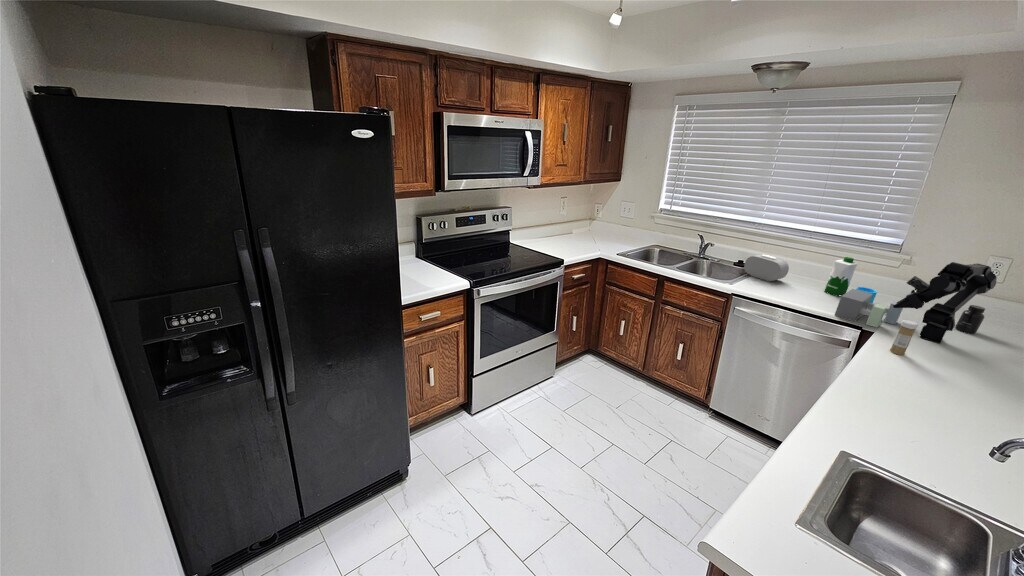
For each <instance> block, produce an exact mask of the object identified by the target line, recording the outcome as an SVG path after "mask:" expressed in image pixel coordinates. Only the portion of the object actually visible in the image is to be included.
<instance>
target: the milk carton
mask: <svg viewBox="0 0 1024 576" xmlns="http://www.w3.org/2000/svg"><path fill="white" fill-rule="evenodd" d="M857 266H858V263H856V262H854V258H853V257H849V256H845V257H844V258H843V259H836V260H833V265H832V268H831V271H830V274H829V278H828V280H827V283H826V286H825V288H824V291H823V292H824V293H826V292H828V293H827V294H829V293H831V294H830V295H832V294H834V295H833V296H835V295H837V296H836V297H840V296H839V295H844V294H845V293H847V292H848V289H849V286H850V284H851V280H852V278H853V275H854V273H855V270H856V269H857Z"/></svg>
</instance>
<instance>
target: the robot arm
mask: <svg viewBox="0 0 1024 576" xmlns="http://www.w3.org/2000/svg"><path fill="white" fill-rule="evenodd" d="M997 278H998V277H997V276H996V274H994V272H993V271H992V267H991V266H990V265H986V264H982V263H973V264H964V263H958V262H955V261H952V262H950V263H948V264H946V265H945V266H944V267H943V268H942V269H941V270H940V271H939V272H938V273H937V276H934V277H933V278H932V279H930V281H929V284H928V283H927V282H926V281H924V280H923V279H921V278H919V277H918V276H916V275H915V276H913V277H911V278H910V279H909V280H907V281H906V284H907V285H909V286H911V287H913V288H914V289H912V290H911V291H910V293H909V294H907V295H906V296H905V297H903V298H902V299H900V300H899V301H896V302H897V304H895V305H893V307H894V308H903V309H915V310H918V309H921V308H924V307H923V306H924V305H925V304H928V303H929V302H931V301H935V300H939V299H943V297H946V296H950V295H952V296H951V297H950V298H948V300H947V301H946V302H944V303H943V304H942V303H939V302H937V303H935V304H934V305H933V306H931V307H930V308H929V309H927V310H926V311H925V312H924V314H923V318H922V323H924V325H923V326H922V329H921V331H920V333H919V335H920V336H919V338H921V339H924V340H927V341H930V342H934V343H937V344H941V343H942V341H943V339H944V337H945V334H946V332H947V331H948V332H949V331H950V332H952V331H953V330H954V328H955V326H956V320H955V318H956V313H957V312H958V311H960V310H961V308H962V307H964V306H965V305H966V304H967V303H968V302H969V301H971V300H972V299H973V298H974V297H975V296H977V295H982V294H986V293H988V292H989V291H990V290H993V289H994V288H995V287H996V284H997ZM953 294H954V295H953Z"/></svg>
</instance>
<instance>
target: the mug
mask: <svg viewBox="0 0 1024 576" xmlns="http://www.w3.org/2000/svg"><path fill="white" fill-rule="evenodd" d="M856 290H860V291H863V292H867V293H871V294H873V295H872V298H871V300H870V303H873V304H874V301H875V299H876V297H877V294H878V291H877V290H875V289H873V288H869V287H864V286H857V287H856Z"/></svg>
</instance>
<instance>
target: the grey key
mask: <svg viewBox="0 0 1024 576" xmlns="http://www.w3.org/2000/svg"><path fill="white" fill-rule="evenodd" d="M897 302H898V301H892V302H891V303H890V305H889V306H888V307H887V309H886V311H885V313H886V314H885V316H884V320H883V322H886V323H889V324H891V325H896V323H898V321H899V319H900V317H901V314H902V312H903V309H904V308H894V307H893V305H895V304H897ZM874 305H875V303H874V302H873V303H869V302H868V303H867V306H866V307H867V309H870V310H872V308H873V306H874Z"/></svg>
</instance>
